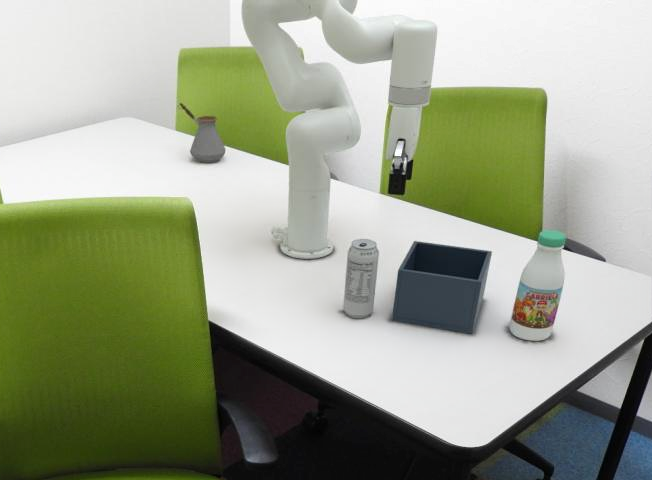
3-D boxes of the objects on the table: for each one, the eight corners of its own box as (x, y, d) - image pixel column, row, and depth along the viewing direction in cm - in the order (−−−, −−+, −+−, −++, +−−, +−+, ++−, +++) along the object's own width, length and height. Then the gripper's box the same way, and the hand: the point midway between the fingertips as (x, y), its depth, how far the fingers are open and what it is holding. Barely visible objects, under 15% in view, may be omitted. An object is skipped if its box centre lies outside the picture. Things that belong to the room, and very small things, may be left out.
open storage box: (391, 320, 152) (397, 269, 146) (407, 288, 164) (414, 240, 157) (471, 334, 146) (481, 282, 140) (482, 300, 158) (492, 251, 152)
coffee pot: (232, 160, 244) (232, 111, 235) (203, 167, 238) (201, 117, 230) (195, 146, 258) (194, 99, 250) (167, 152, 253) (164, 105, 244)
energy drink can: (377, 310, 156) (384, 241, 147) (365, 322, 151) (372, 252, 143) (350, 303, 158) (356, 235, 150) (337, 315, 154) (343, 245, 146)
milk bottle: (502, 324, 150) (523, 227, 138) (540, 321, 150) (563, 225, 139) (518, 343, 143) (541, 243, 132) (557, 340, 144) (584, 241, 132)
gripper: (395, 85, 148) (387, 172, 158) (381, 104, 135) (373, 198, 144) (434, 86, 146) (424, 175, 156) (424, 106, 133) (413, 202, 142)
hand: (399, 186), depth 150 cm, fingers open, 9 cm apart
